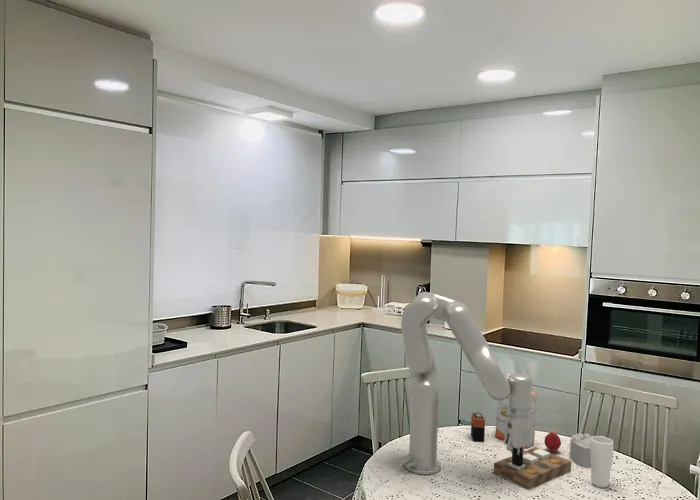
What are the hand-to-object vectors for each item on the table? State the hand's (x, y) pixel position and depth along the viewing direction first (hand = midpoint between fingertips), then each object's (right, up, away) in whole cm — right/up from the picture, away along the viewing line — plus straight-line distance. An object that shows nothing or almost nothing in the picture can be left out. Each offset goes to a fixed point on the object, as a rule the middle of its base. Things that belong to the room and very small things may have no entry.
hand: (517, 464), depth 183 cm
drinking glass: (+26, -5, -5) cm, 27 cm away
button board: (+6, -4, +3) cm, 8 cm away
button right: (+11, -1, +8) cm, 14 cm away
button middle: (+5, -1, +4) cm, 7 cm away
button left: (0, -2, 0) cm, 2 cm away
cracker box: (+8, -3, +29) cm, 31 cm away
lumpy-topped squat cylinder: (+29, -4, +14) cm, 33 cm away
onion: (+20, -4, +21) cm, 29 cm away
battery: (-6, -2, +31) cm, 32 cm away
